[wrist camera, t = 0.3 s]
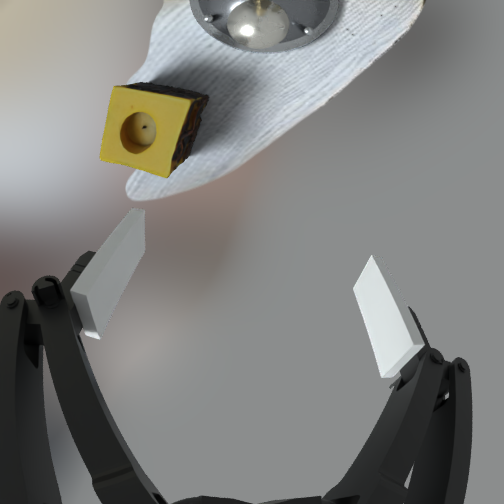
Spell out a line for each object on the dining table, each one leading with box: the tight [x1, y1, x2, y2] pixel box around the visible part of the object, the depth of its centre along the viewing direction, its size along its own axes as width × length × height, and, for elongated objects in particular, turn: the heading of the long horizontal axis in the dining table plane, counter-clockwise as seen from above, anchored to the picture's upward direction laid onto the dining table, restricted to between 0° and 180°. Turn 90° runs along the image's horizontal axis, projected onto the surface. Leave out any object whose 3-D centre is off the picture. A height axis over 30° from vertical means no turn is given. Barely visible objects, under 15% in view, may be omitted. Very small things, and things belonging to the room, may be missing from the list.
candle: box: [100, 82, 209, 178], centre depth 30 cm, size 10×10×10 cm
